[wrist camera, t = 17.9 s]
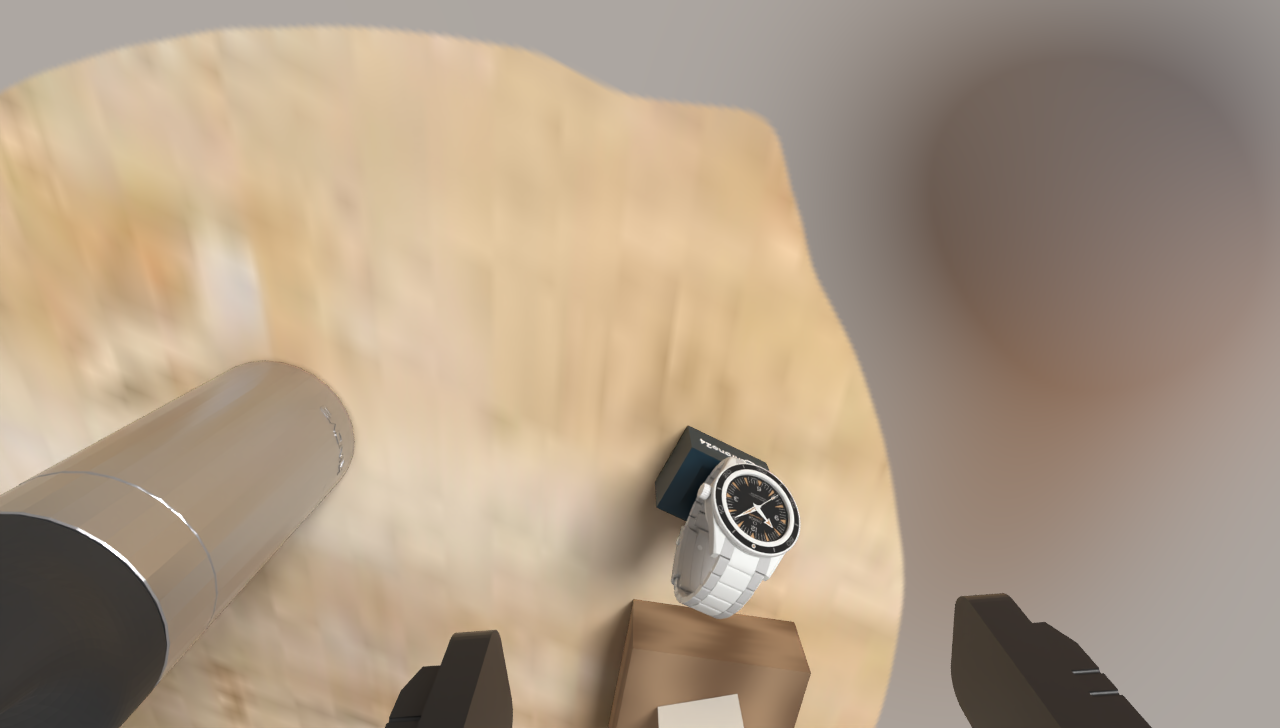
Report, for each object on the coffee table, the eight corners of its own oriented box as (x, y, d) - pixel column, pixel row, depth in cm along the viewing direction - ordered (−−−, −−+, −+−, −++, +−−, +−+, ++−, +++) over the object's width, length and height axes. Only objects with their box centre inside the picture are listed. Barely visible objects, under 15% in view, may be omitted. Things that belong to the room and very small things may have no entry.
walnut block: (608, 722, 49) (604, 785, 44) (633, 595, 45) (633, 648, 40) (757, 742, 49) (769, 806, 44) (792, 618, 46) (810, 673, 41)
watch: (782, 437, 41) (831, 536, 31) (717, 539, 43) (743, 663, 33) (702, 397, 40) (724, 486, 30) (640, 503, 43) (641, 620, 32)
